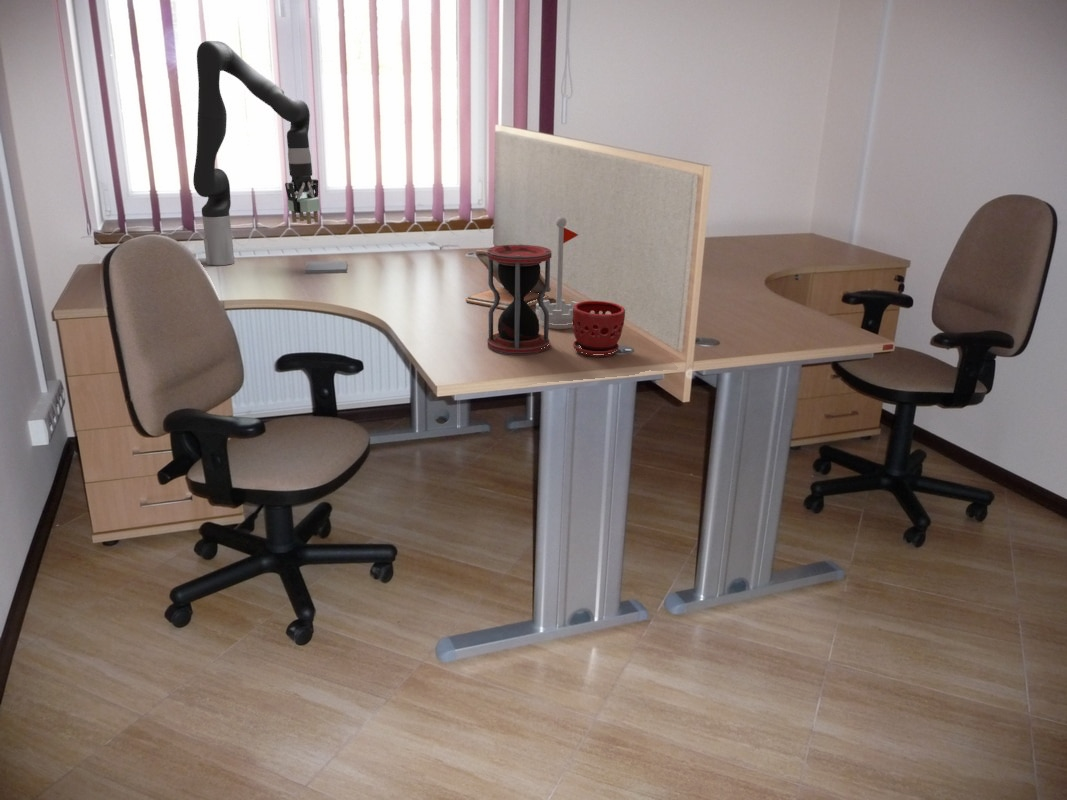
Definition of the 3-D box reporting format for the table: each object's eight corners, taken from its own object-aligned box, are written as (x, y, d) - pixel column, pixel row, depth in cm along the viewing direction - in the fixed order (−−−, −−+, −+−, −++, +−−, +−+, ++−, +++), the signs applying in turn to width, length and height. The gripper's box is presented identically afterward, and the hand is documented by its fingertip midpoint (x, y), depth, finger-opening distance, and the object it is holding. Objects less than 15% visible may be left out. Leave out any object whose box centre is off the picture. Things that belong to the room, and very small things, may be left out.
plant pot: (568, 358, 214) (570, 311, 209) (574, 343, 226) (576, 298, 222) (621, 361, 212) (623, 314, 208) (624, 346, 224) (626, 301, 220)
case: (553, 299, 271) (554, 248, 265) (516, 313, 254) (516, 259, 249) (501, 290, 281) (500, 241, 276) (461, 303, 265) (460, 251, 259)
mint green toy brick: (309, 224, 295) (306, 200, 292) (289, 222, 299) (287, 198, 296) (321, 221, 299) (319, 198, 297) (302, 220, 304) (299, 197, 301)
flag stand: (543, 331, 236) (545, 221, 226) (530, 318, 248) (531, 213, 237) (587, 328, 240) (592, 219, 229) (572, 316, 251) (576, 212, 241)
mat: (305, 273, 298) (305, 270, 298) (307, 265, 311) (307, 261, 311) (346, 272, 301) (346, 269, 301) (347, 264, 314) (347, 261, 313)
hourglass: (550, 337, 230) (552, 244, 221) (548, 356, 215) (551, 257, 206) (490, 336, 231) (489, 243, 222) (484, 354, 215) (484, 255, 207)
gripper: (292, 163, 284) (298, 215, 290) (322, 160, 296) (327, 209, 302) (276, 163, 288) (281, 213, 294) (306, 159, 300) (311, 208, 306)
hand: (304, 211), depth 298 cm, fingers closed on mint green toy brick, 6 cm apart
